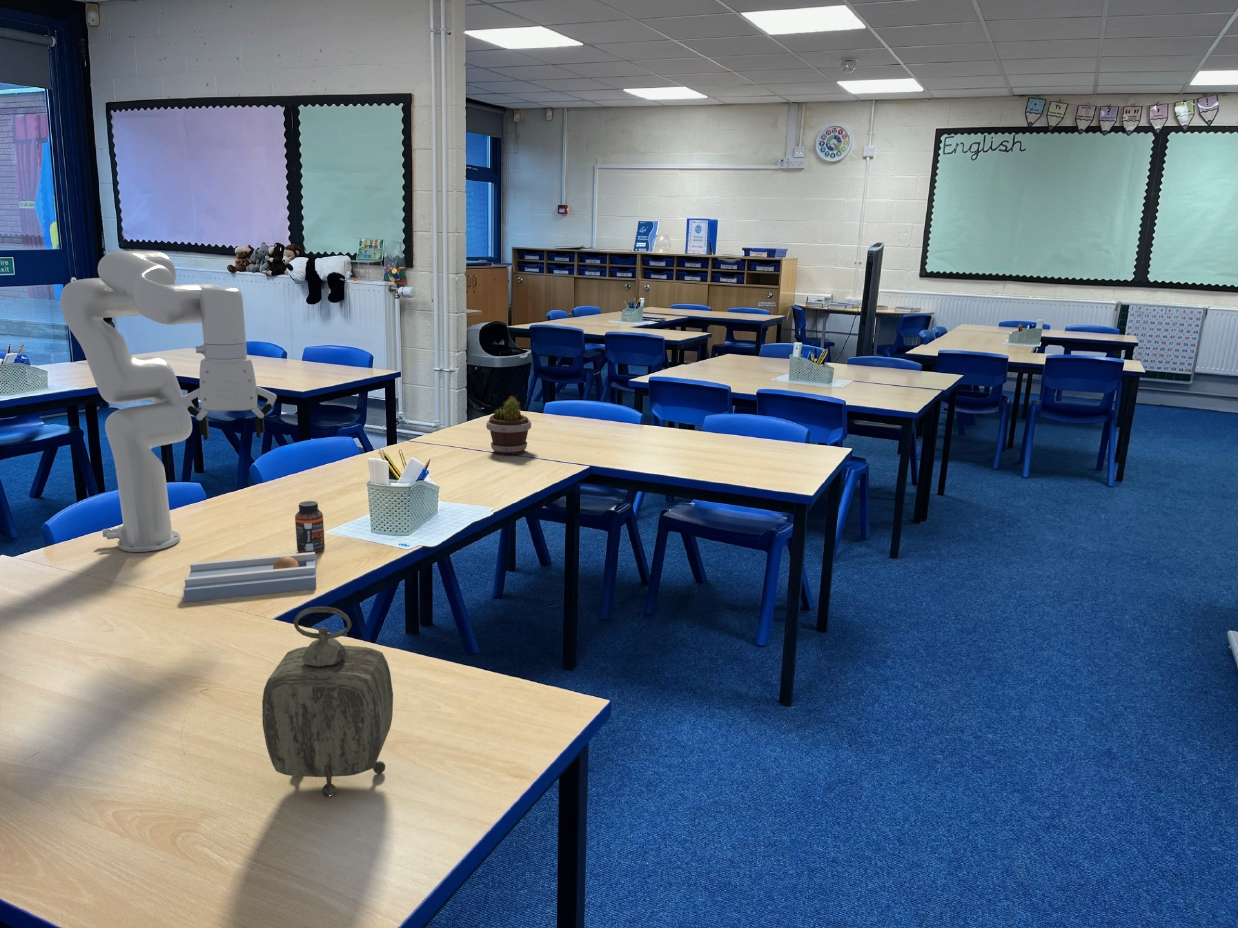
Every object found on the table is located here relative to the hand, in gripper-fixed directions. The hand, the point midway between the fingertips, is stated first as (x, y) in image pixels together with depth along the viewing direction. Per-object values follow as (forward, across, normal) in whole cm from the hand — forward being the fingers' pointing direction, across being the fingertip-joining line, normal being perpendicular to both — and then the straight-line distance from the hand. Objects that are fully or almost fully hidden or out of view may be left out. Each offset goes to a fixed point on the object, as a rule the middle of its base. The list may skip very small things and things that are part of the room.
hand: (233, 437), depth 175 cm
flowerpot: (+30, +76, +92) cm, 123 cm away
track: (+30, +2, -4) cm, 30 cm away
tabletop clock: (+29, +16, -80) cm, 87 cm away
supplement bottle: (+30, +13, +12) cm, 35 cm away
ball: (+27, +8, -5) cm, 29 cm away
